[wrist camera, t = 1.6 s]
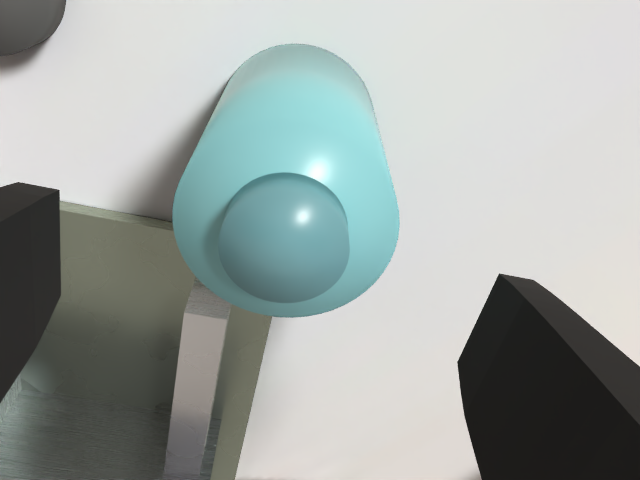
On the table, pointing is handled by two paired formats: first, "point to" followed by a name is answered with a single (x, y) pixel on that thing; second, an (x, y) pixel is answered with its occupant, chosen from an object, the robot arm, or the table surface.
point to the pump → (289, 188)
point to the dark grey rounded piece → (27, 23)
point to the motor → (132, 364)
